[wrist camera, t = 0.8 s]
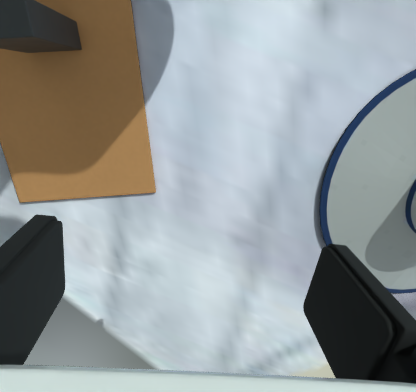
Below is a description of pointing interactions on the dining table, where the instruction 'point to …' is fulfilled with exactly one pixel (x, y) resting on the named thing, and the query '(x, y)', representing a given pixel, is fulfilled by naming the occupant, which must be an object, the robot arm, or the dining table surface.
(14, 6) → the block
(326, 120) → the dining table surface
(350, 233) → the sun hat
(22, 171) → the cork mat
